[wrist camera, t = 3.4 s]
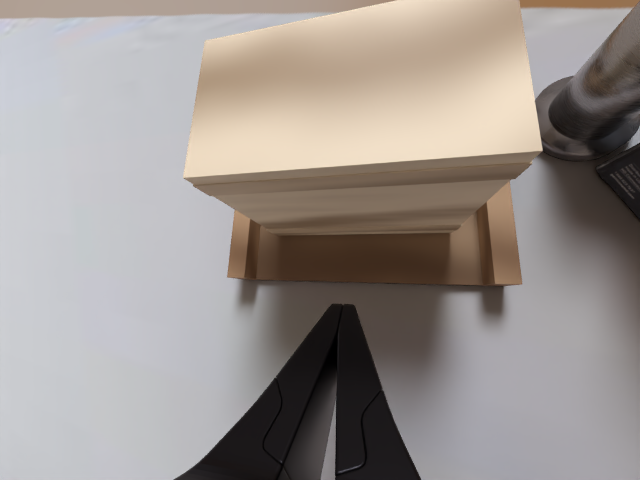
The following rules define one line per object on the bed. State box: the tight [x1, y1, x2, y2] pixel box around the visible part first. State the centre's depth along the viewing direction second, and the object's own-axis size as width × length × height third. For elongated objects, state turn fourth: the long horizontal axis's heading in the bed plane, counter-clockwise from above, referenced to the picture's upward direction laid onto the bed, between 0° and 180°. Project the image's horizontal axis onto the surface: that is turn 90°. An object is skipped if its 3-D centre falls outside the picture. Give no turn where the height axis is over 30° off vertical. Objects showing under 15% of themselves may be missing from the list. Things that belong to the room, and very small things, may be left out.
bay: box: [227, 181, 522, 286], centre depth 17 cm, size 15×16×3 cm
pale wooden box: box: [183, 0, 543, 236], centre depth 13 cm, size 6×11×9 cm, turn 88°
